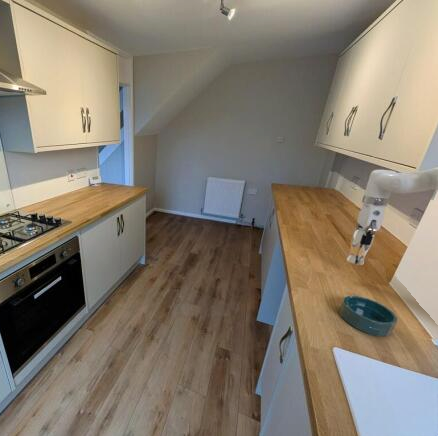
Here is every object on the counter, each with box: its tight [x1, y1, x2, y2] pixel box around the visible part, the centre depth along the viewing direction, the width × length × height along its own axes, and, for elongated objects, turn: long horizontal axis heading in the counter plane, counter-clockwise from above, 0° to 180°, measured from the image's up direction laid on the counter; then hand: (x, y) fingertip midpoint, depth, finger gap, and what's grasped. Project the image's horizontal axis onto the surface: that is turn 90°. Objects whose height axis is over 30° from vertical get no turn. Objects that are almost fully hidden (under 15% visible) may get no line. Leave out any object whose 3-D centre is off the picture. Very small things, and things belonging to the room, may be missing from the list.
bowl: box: [339, 295, 398, 337], centre depth 81 cm, size 14×14×6 cm
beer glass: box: [345, 227, 376, 266], centre depth 102 cm, size 7×7×15 cm
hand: (361, 240), depth 102 cm, fingers closed on beer glass, 7 cm apart
